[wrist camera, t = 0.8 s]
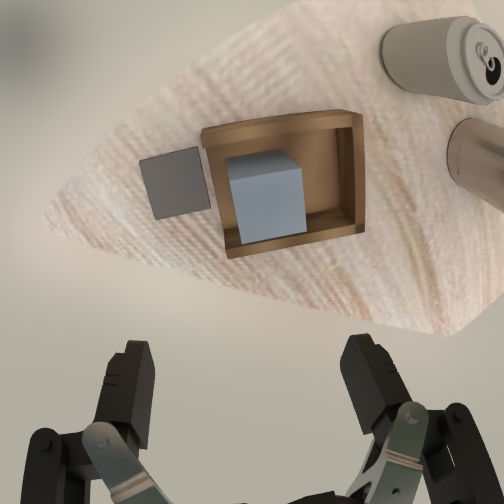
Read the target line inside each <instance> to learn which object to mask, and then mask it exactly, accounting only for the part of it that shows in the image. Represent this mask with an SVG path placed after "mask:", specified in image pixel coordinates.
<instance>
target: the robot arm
mask: <svg viewBox="0 0 504 504" xmlns="http://www.w3.org/2000/svg"><path fill="white" fill-rule="evenodd" d="M448 167H449V171H450V174H451V176H452V178H453V180H454V181H455V182H456V183H457V184H458V185H460V186H462V187H463V188H465V189H467V190H468V191H470V192H472V193H473V194H475V195H477V196H478V197H480V198H481V199H483V200H484V201H486V202H488V203H489V204H491V205H492V206H494V207H495V208H497V209H498V210H500V211H501V212H503V213H504V128H502V127H499V126H496V125H493V124H490V123H487V122H484V121H481V120H477V119H472V118H470V119H466V120H464V121H463V122H461V123H460V124H459V125H458V126H457V127H456V129H455V130H454V132H453V134H452V137H451V139H450V143H449V146H448ZM340 370H341V373H342V376H343V379H344V381H345V384H346V387H347V390H348V392H349V395H350V398H351V401H352V403H353V406H354V409H355V412H356V414H357V417H358V420H359V423H360V426H361V429H362V432H363V434H364V435H366V434H370V433H373V435H374V439H373V441H372V443H371V445H370V448H369V451H368V453H367V455H366V458H365V460H364V463H363V465H362V467H361V469H360V472H359V474H358V476H357V478H356V479H355V481H354V482H353V483H352V485H351V486H350V488H349V489H348V491H347V493H346V495H345V496H339V495H335V493H334V491H330V492H326V493H321V494H316V495H311V496H306V497H303V498H301V499H298V500H296V501H293V502H291V503H288V504H412V503H413V500H414V497H415V494H416V491H417V488H418V485H419V482H420V479H421V475H422V473H423V476H424V479H425V483H426V486H427V489H428V493H429V497H430V500H431V504H504V496H503V493H502V490H501V487H500V484H499V481H498V478H497V475H496V473H495V470H494V467H493V465H492V462H491V459H490V457H489V454H488V452H487V449H486V447H485V444H484V442H483V440H482V437H481V435H480V433H479V430H478V428H477V426H476V424H475V421H474V419H473V417H472V415H471V413H470V411H469V409H468V408H467V407H466V406H465V405H463V404H461V403H452V404H450V405H449V406H448V407H447V408H446V409H445V410H426V409H425V407H424V406H423V405H421V404H420V403H418V402H413V401H412V399H411V397H410V395H409V393H408V391H407V389H406V387H405V385H404V383H403V381H402V379H401V377H400V375H399V373H398V372H397V369H396V367H395V365H394V364H393V361H392V359H391V357H390V355H389V353H388V352H387V351H386V350H385V349H384V348H383V347H382V346H381V345H380V344H376V345H375V344H374V342H373V340H372V338H371V336H370V335H369V334H368V333H367V334H358V335H351V336H350V337H349V339H348V341H347V344H346V346H345V349H344V352H343V354H342V357H341V360H340ZM154 382H155V367H154V362H153V359H152V355H151V352H150V348H149V344H148V342H147V341H135V340H134V341H133V340H129V341H128V342H127V345H126V349H125V353H116V354H115V355H114V356H113V357H112V359H111V360H110V361H109V362H108V366H107V370H106V376H105V377H104V381H103V385H102V389H101V393H100V397H99V401H98V406H97V410H96V414H95V418H94V421H93V423H92V424H90V425H89V426H88V427H87V428H86V429H85V430H83V431H81V432H77V433H69V434H60V435H59V434H58V433H56V432H55V431H54V430H52V429H50V428H41V429H39V430H37V431H35V432H34V433H33V435H32V436H31V439H30V443H29V448H28V453H27V458H26V464H25V471H24V476H23V484H22V492H21V502H20V504H90V485H91V484H90V483H91V480H95V479H102V480H103V481H104V483H105V485H106V486H107V488H108V489H109V491H110V493H111V499H112V501H113V502H114V504H173V503H172V502H171V501H170V500H169V498H168V497H167V496H166V495H165V494H164V493H163V491H162V490H161V489H160V488H159V486H158V485H157V484H156V483H155V481H154V480H153V479H152V477H151V476H150V475H149V473H148V472H147V471H146V470H145V468H144V467H143V465H142V464H141V463H140V461H139V460H138V456H139V449H147V445H148V433H149V424H150V415H151V406H152V397H153V389H154ZM447 445H448V448H449V451H450V453H451V456H452V459H453V461H454V464H455V467H454V464H453V461H452V459H451V456H450V453H449V451H448V448H447ZM242 504H246V503H242Z"/></svg>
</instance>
